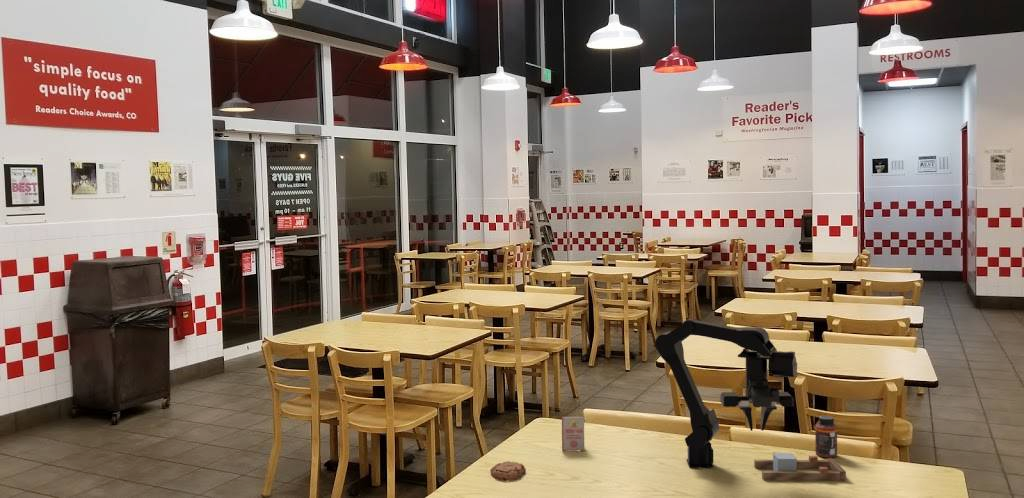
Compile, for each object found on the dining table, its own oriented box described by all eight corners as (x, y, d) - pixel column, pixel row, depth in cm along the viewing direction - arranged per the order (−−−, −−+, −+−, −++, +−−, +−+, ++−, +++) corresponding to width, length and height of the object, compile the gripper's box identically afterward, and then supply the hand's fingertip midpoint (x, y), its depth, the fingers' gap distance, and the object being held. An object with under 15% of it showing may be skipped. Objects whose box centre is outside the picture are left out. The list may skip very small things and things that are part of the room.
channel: (763, 480, 214) (763, 468, 213) (754, 466, 224) (754, 455, 224) (845, 480, 212) (845, 468, 212) (832, 467, 223) (832, 455, 223)
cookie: (494, 483, 216) (494, 472, 216) (488, 470, 227) (487, 460, 227) (530, 480, 218) (530, 469, 218) (522, 467, 229) (521, 457, 229)
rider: (777, 476, 216) (777, 458, 216) (773, 470, 221) (773, 453, 221) (796, 477, 216) (796, 458, 215) (791, 470, 221) (791, 453, 220)
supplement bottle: (839, 459, 230) (839, 420, 229) (817, 458, 231) (817, 419, 230) (835, 452, 235) (835, 414, 235) (813, 451, 237) (813, 414, 236)
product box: (562, 447, 246) (561, 415, 246) (584, 447, 246) (583, 415, 245) (562, 450, 242) (561, 418, 242) (584, 451, 242) (583, 418, 241)
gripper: (727, 380, 210) (727, 439, 211) (799, 380, 209) (799, 439, 210) (719, 371, 221) (720, 427, 222) (788, 371, 220) (788, 427, 221)
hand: (756, 430), depth 218 cm, fingers open, 3 cm apart
